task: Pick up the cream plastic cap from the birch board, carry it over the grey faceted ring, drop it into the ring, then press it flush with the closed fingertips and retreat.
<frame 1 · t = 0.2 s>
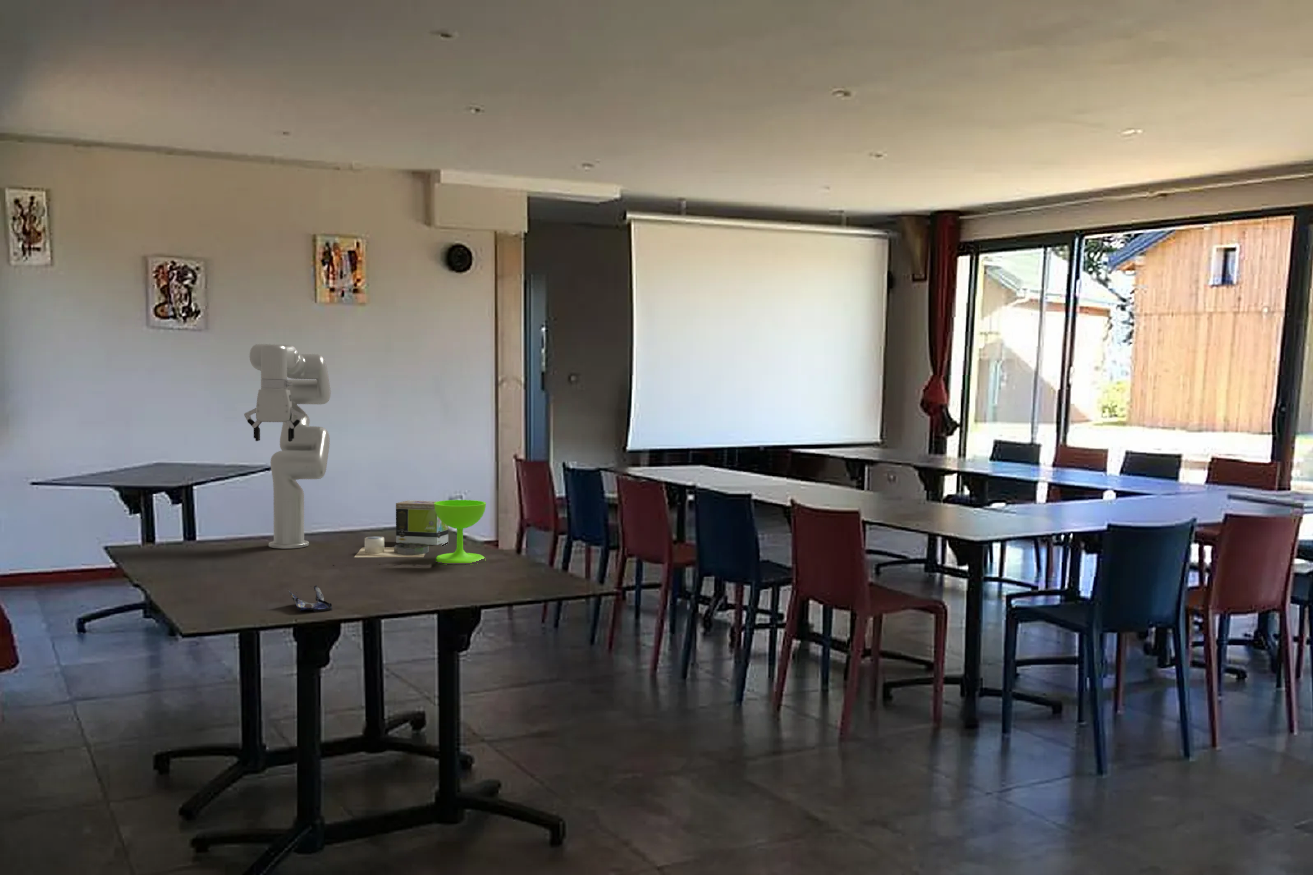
hand: (274, 441, 333), 36 cm above the table, tool pointing down, fingers open, 9 cm apart
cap: (374, 552, 344), point 1 cm above the table, touching board
grey faceted ring: (411, 555, 346), resting on board
board: (392, 555, 345), on the table
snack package: (309, 610, 270), on the table
wineglass: (459, 560, 340), on the table
tea box: (422, 545, 367), on the table
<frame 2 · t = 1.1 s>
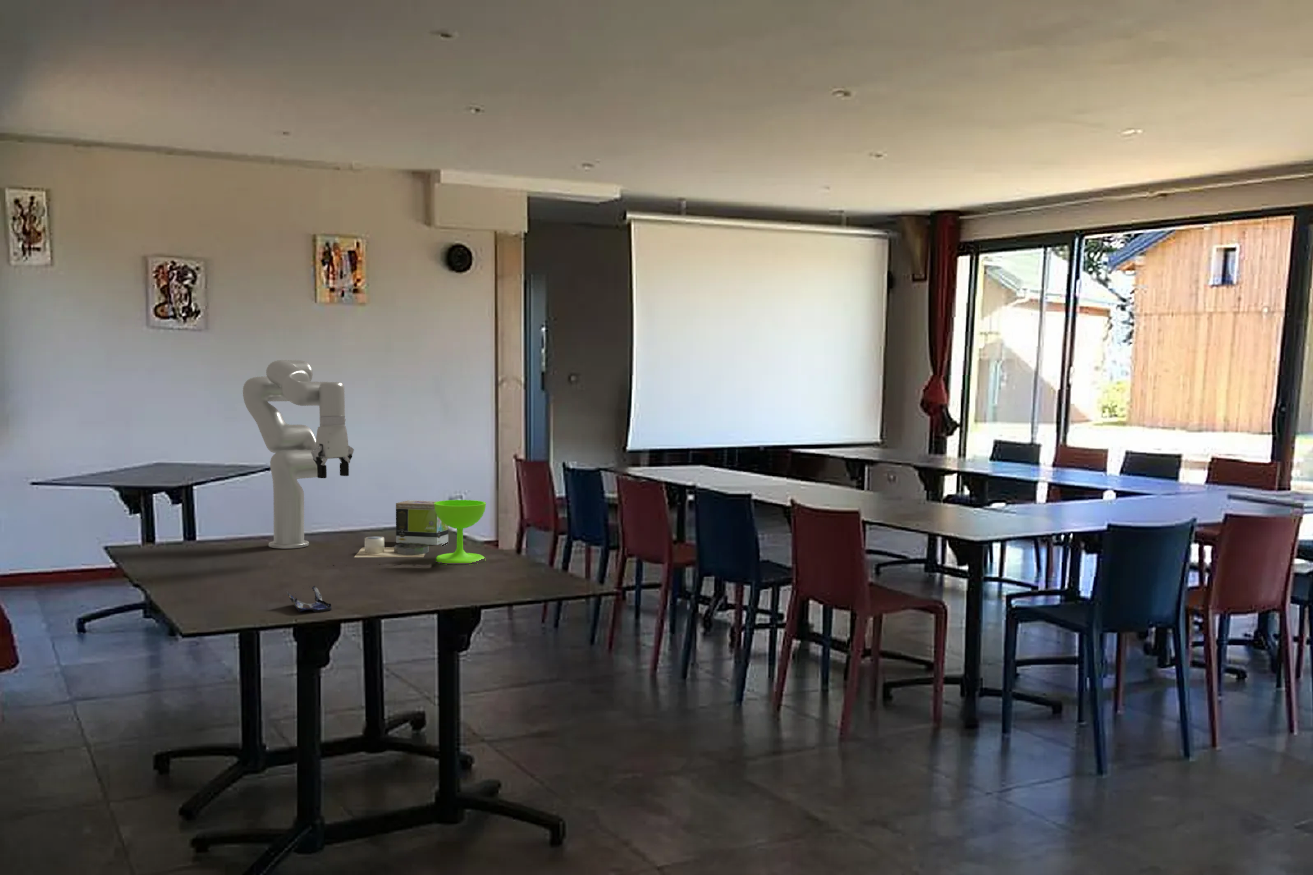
hand: (333, 476, 338), 25 cm above the table, tool pointing down, fingers open, 9 cm apart
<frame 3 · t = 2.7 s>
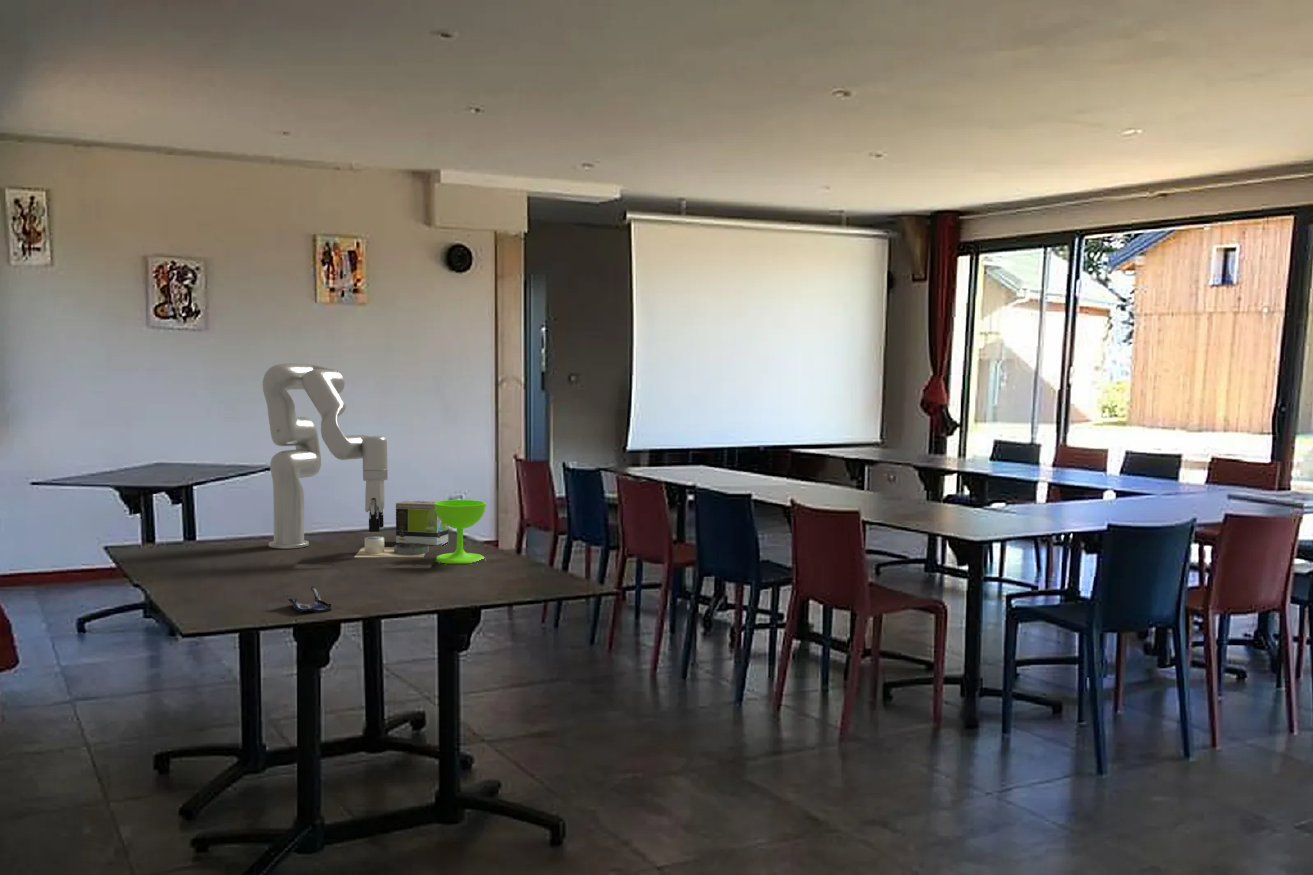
hand: (376, 529, 343), 8 cm above the table, tool pointing down, fingers open, 9 cm apart
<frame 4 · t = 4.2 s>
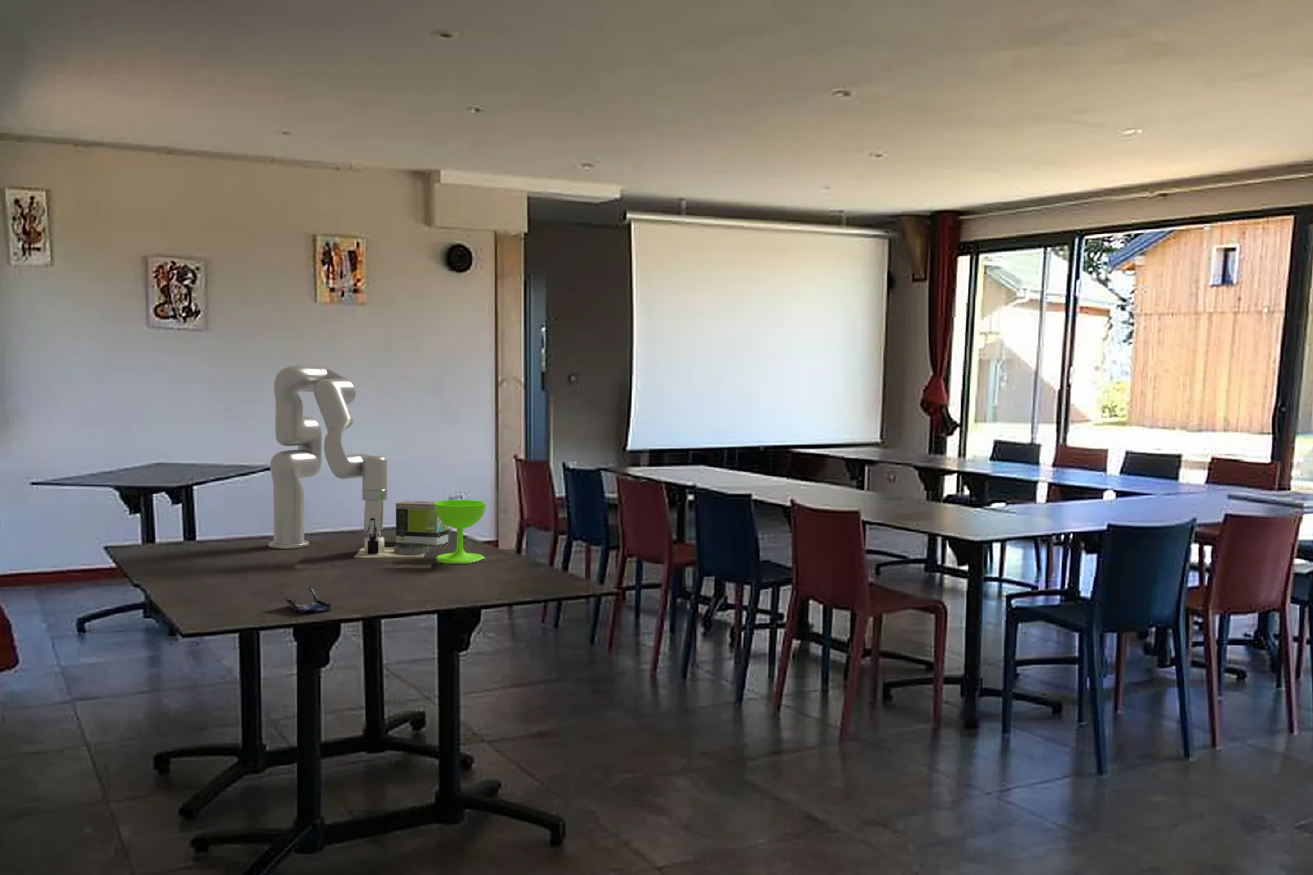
hand: (374, 551, 344), 1 cm above the table, tool pointing down, fingers closed on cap, 6 cm apart
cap: (374, 552, 344), point 1 cm above the table, touching board, gripper
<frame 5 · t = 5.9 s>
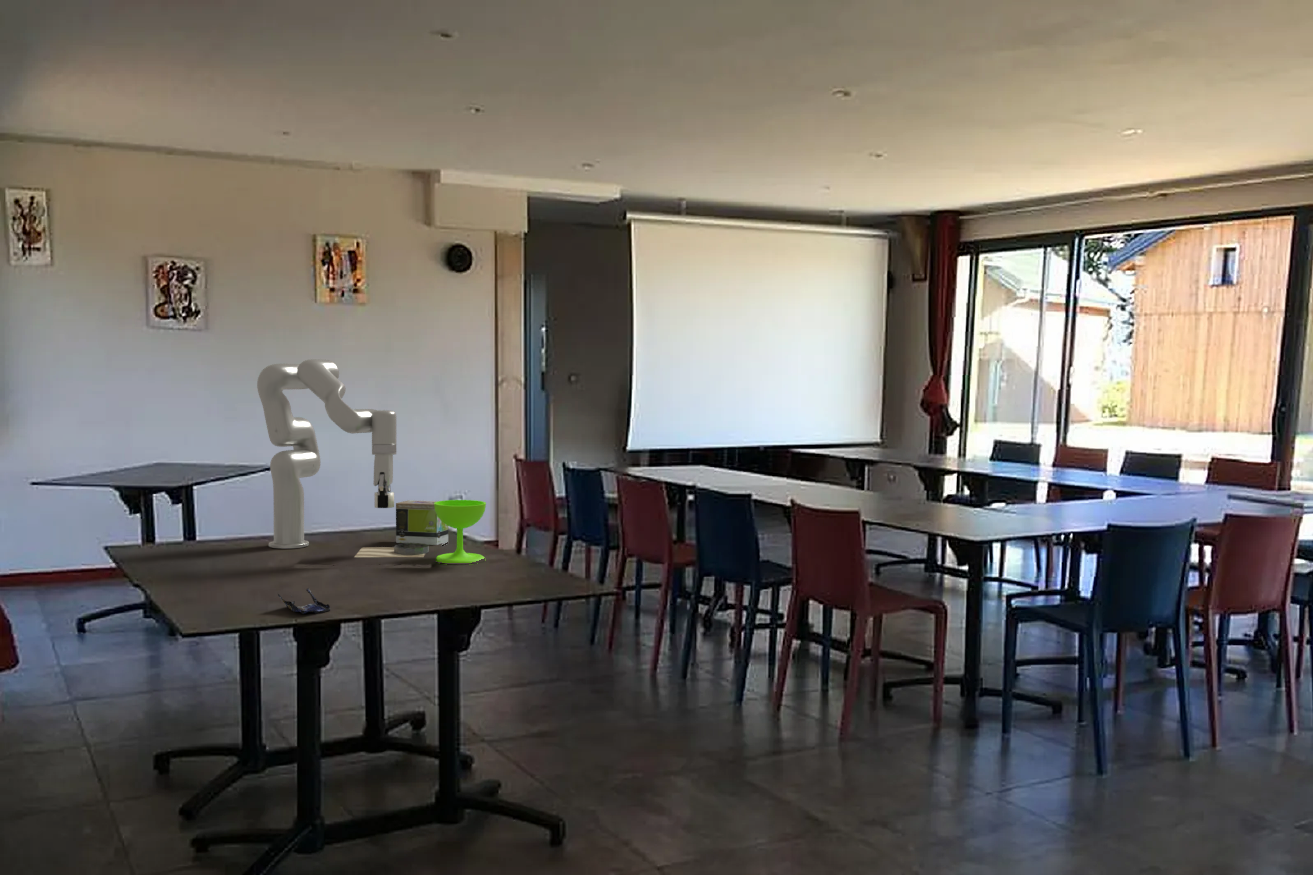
hand: (384, 506, 344), 16 cm above the table, tool pointing down, fingers closed on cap, 6 cm apart
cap: (384, 506, 344), point 16 cm above the table, touching gripper
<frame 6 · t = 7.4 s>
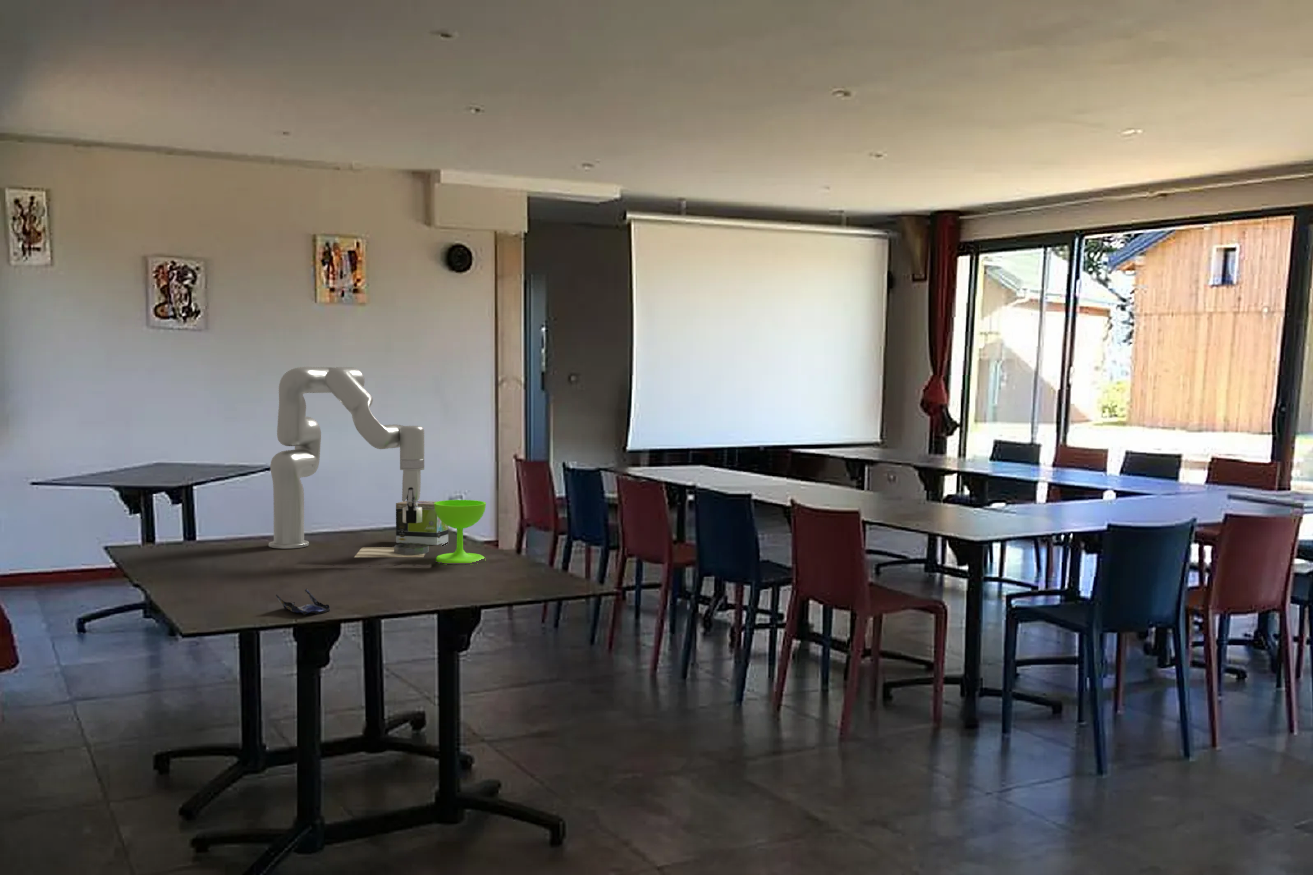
hand: (412, 521, 345), 11 cm above the table, tool pointing down, fingers closed on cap, 6 cm apart
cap: (412, 521, 345), point 11 cm above the table, touching gripper
when the fingers open (4 cm above the table, at t = 9.4 s): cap drops 3 cm, resting on board.
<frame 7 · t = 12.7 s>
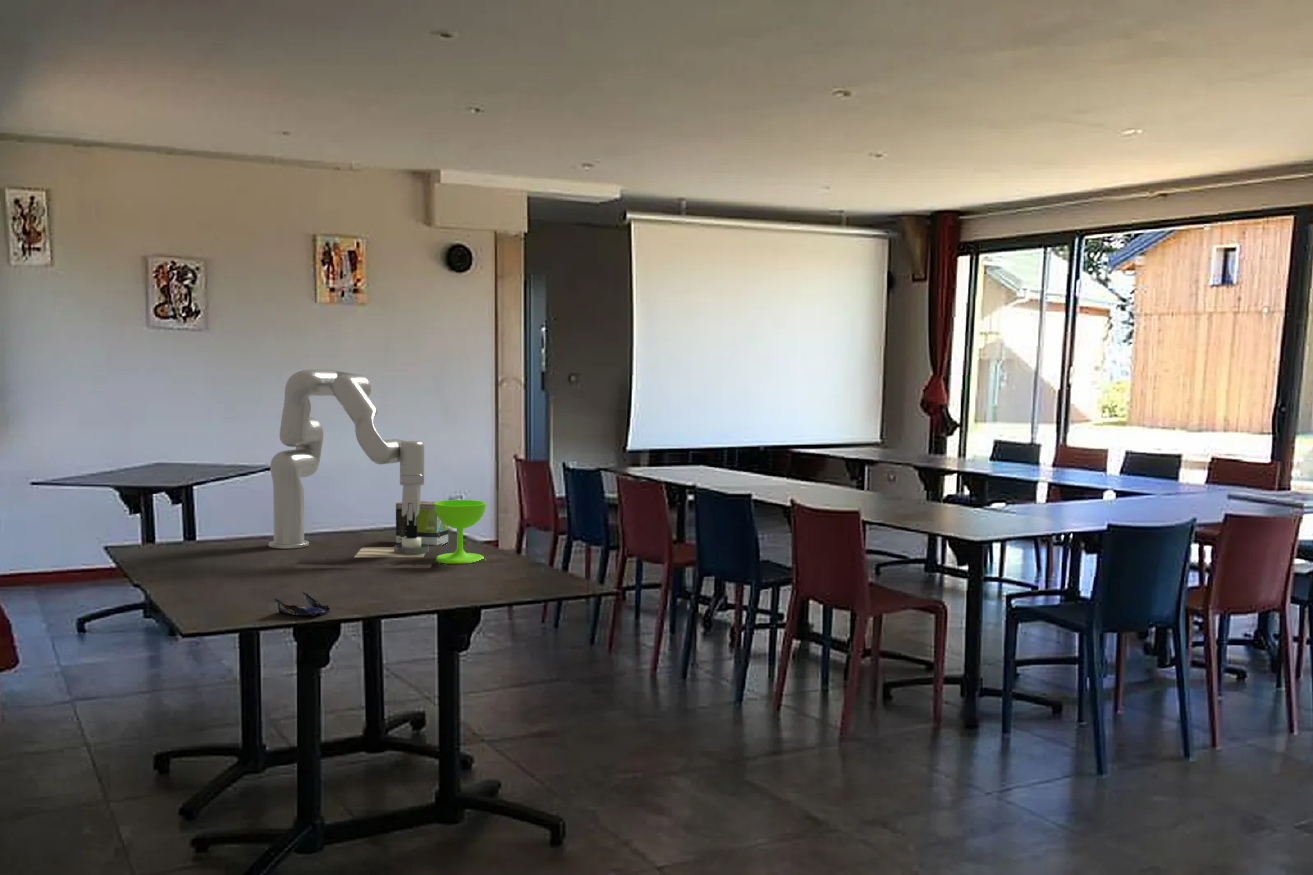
hand: (411, 537, 345), 6 cm above the table, tool pointing down, fingers closed
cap: (411, 552, 346), point 1 cm above the table, touching board, gripper
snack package: (303, 616, 264), on the table
everything else where it was.
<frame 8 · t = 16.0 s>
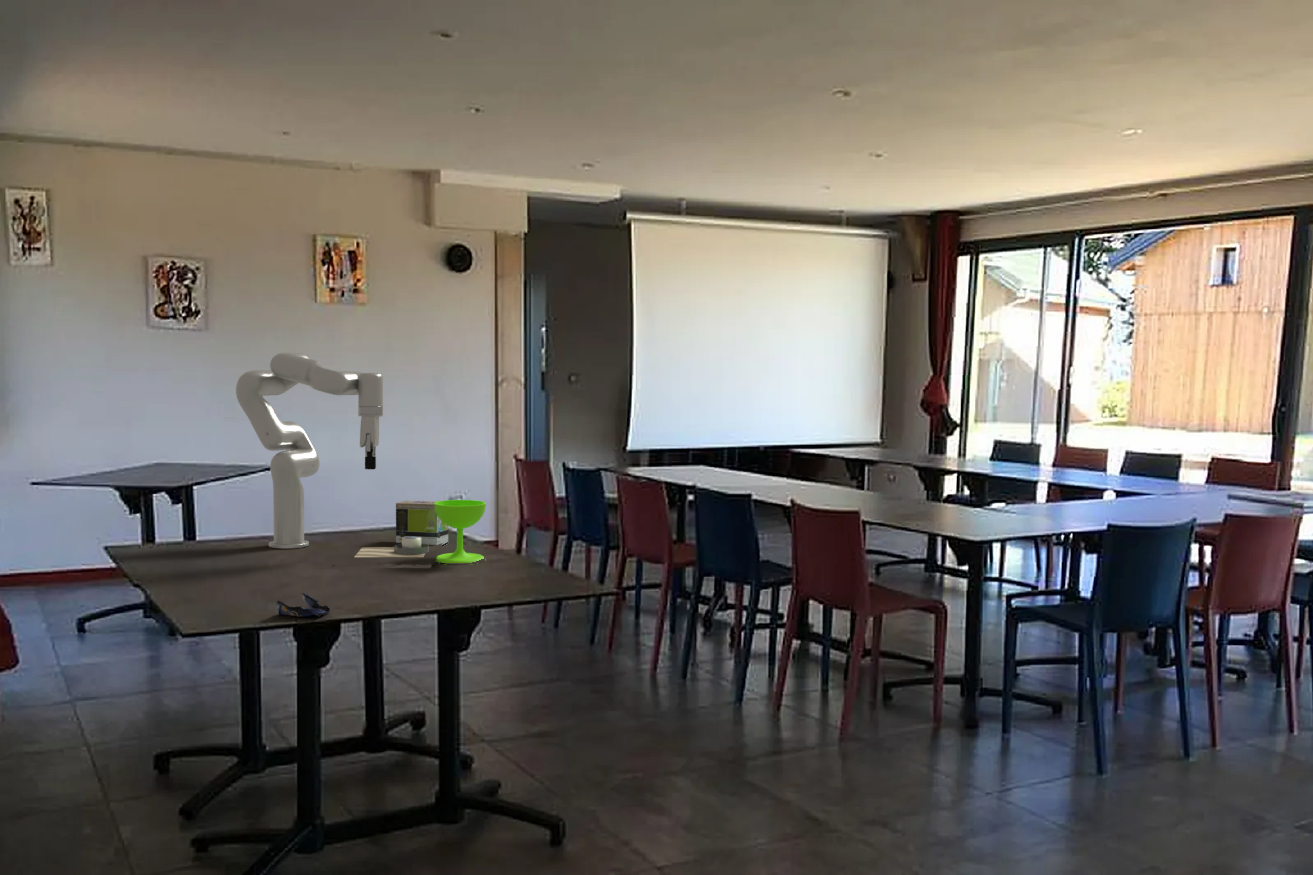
hand: (370, 469, 347), 27 cm above the table, tool pointing down, fingers closed
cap: (411, 552, 346), point 1 cm above the table, touching board
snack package: (304, 617, 262), on the table
everything else where it was.
at the end: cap 0.2 cm off-centre on the grey faceted ring, point 1.2 cm above the grey faceted ring's base; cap tilted 0°; the gripper is holding nothing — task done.
